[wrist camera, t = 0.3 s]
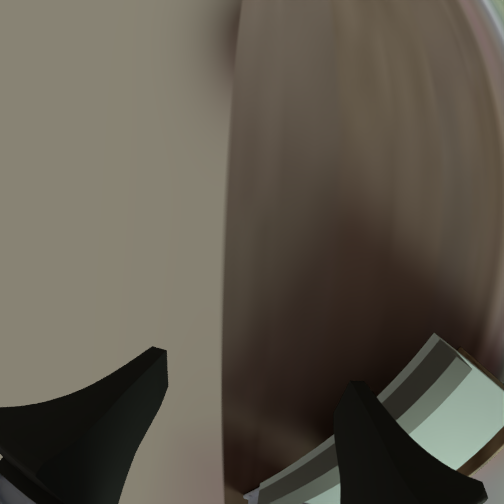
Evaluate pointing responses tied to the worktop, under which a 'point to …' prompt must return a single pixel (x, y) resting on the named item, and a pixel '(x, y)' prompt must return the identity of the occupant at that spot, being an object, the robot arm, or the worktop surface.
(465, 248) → the worktop surface
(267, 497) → the lid
